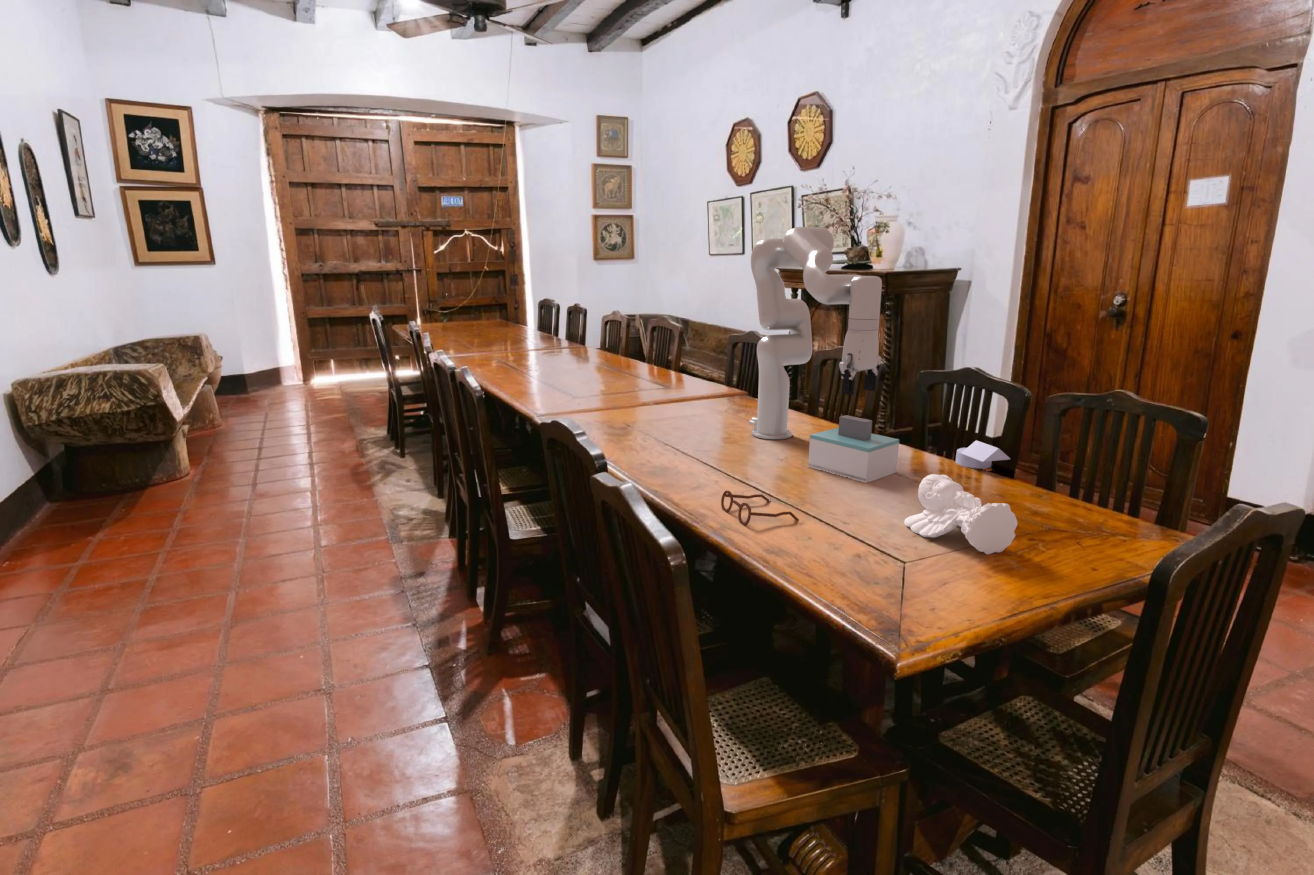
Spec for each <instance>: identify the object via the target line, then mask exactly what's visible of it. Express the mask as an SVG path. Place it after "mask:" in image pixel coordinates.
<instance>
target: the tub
mask: <svg viewBox="0 0 1314 875" xmlns="http://www.w3.org/2000/svg"><path fill="white" fill-rule="evenodd" d="M899 448H900V442H899V443H898V444H895V445H891V446H888V447H885V448H882V449H878V450H875V451H872V452H869V453H868V452H864V451H860V450H856V449H852V448H848V447H844V446H840V445H835V444H831V443H827V442H823V441H819V440H815V439H811V438H810V437H809V448H808V449H809V450H808V464H807V467H808V468H810V467H811V469H813V470H818V471H821V470H823V471H822V472H825V471H826V473H828V472H829V473H828V474H833V475H835V474H837V475H836V476H839V475H840V476H839V477H842V476H843V477H842V478H846V477H848V478H847V479H850V478H851V479H850V480H854V481H856V482H860V481H861V483H864V482H865V483H864V484H867V482H868V483H870V482H872V481H876V480H879V479H881V478H882V479H883V478H884V477H888V476H890V475H892V474H896V473H897V471H898V470H897V467H898V460H899V459H898V457H899Z"/></svg>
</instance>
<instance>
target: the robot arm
mask: <svg viewBox="0 0 1314 875" xmlns="http://www.w3.org/2000/svg"><path fill="white" fill-rule="evenodd" d="M834 241H835V240H834V237H833V234H832V233H831V232H830V230H828V229H827V228H824V227H816V226H798V227H797V226H796V227H794V228H791V229H789V230H788V231H787V232H785V234H784V235H783V238H766V239H762V240H759V241H758V242H757V243H755V245H754V246H753V248H752V250H751V253H750V254H751V255H750V268H751V273H752V275H753V279H754V282H755V287H756V288H755V289H756V297H757V298H756V299H757V310H758V319H759V325H760V326H761V328H762V329H764V330H766V331H789V333H788V334H787V333H786V334H785V333H780V334H770V335H766V336H764V337H762V338H761V339H759V341H758V342H757V344H756V358H757V363H758V364H757V365H758V390H757V392H758V394H757V397H758V398H757V411H756V412H757V416H756V417H752V418H750V419H749V421H748V424H749V425H752V426H754V427H753V429H752V430H751V435H752V436H754V437H756V438H758V439H759V438H760V439H764V440H784V439H789V438H791V437H792V435H793V432H792V431H791V430H790V429H788V421H789V419H788V418H789V402H790V401H789V400H790V399H789V398H790V381H791V380H790V377H789V375H788V373H787V371H786V369H785V366H791V365H792V366H793V365H795V366H796V365H802V364H803V365H804V364H806V363H808V362H809V361H810V359H811V358H812V355H813V335H812V322H811V321H812V320H811V313H810V310H809V307H808V305H807V303H806V302H805V301H803V300H802V299H800V298H787V297H786V292H785V288H786V287H785V282H784V280H783V279H782V277H781V275H780V274H779V273H778V271H776V269H777V268H779V269H783V268H784V269H791V268H793V269H800V268H801V269H802V270H803V272H802V278H803V280H802V281H803V284H804V285H803V286H804V288H805V290H806V291H807V292H808V294H810V295H811V297H812V298H814V299H815V300H816V301H817V302H818V303H821V304H822V305H849V306H848V321H847V331H846V334H845V337H844V342H843V346H842V347H843V348H842V356H841V361H840V362H838V367H839V370H840V371H839V373H840V375H841V380H842V383H841V384H842V386H841V388H842V389H841V394H843V395H847V396H854V395H855V384H856V383H855V379H854V378H855V375H856V374H857V372H858V373H859V372H864V371H865V374H864V380H863V390H865V391H870V392H871V391H872V392H875V391H876V390H877V388H876V386H877V376H878V374H879V370H880V367H881V363H882V356H881V355H879V350H880V349H879V348H880V347H879V344H880V343H879V329H880V328H879V327H880V314H881V302H882V287H883V286H882V285H883V282H882V281H883V280H882V278H881V277H880V276H877V275H861V274H829V273H827V272H828V270H829V269H830V267H831V266H832V265H833V261H834V255H833V249H834V245H835V242H834Z"/></svg>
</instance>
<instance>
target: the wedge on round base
mask: <svg viewBox="0 0 1314 875" xmlns="http://www.w3.org/2000/svg"><path fill="white" fill-rule="evenodd" d="M1008 460H1011V458H1010V457H1009V455H1007V454H1006V453H1005V452H1004V451H1003V450H1001V449H1000V448H998V447H996V446H993V445H992V444H987V443H985V442H982V441H979V440H977V439H976V440H975V441H973V442H972V443H971V444H970V445H969V446H968V447H960V448H957V450H956V455H955V463H956V465H959V466H961V467H965V468H969V467H970V468H971V469H987V468H988V469H989V468H991V467H992V462H996V461H1008ZM970 468H969V469H970Z"/></svg>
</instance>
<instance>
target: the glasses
mask: <svg viewBox="0 0 1314 875" xmlns="http://www.w3.org/2000/svg"><path fill="white" fill-rule="evenodd" d="M725 498H729V500H730V502H729V506H728V508H726V507H725ZM753 498H762V499H763V500H764V501H766V502H767V501H769V500H770V499H769V498H767V497H766V496H765V495H763V494H751V495H745V494H743V495H741V494H733V493H732V492H731V491H730V490H724V492H723V493H722V496H721V501H720V505H721V509H722V511H724V512H725V513H728V512H730V511H731V510H732V507H733V505H736V506H737V507H738V516H737V517H738V521H739V524H740V525H742V526H747V525H748V524H749V523H750V521H751V518H752V517H751V516H755V517H756V516H758V517H769V518H770V517H771V518H777V517H780V516H785V515H789V516H791V518H792V519H794V520H795V521H799V520H798V519H799V518H798V517H797V516H796V515H795V514H794V513H792V511H782V512H778V513H766V512H754V511H753V512H752V509H751V505H750V504H749V503H748V502H742V503H741V504H740V503H739V502H738V501H737V500H735V499H745V500H746V499H747V500H749V499H753ZM744 507H746V508H747V512H748V513H747V519H746V521H745V522H744V521H743V519H742V510H743V508H744Z"/></svg>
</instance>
